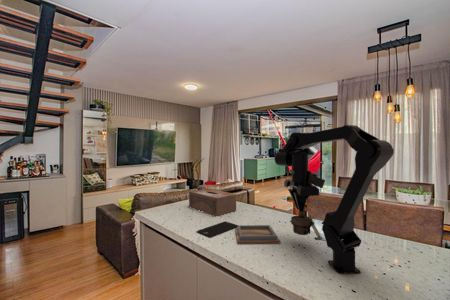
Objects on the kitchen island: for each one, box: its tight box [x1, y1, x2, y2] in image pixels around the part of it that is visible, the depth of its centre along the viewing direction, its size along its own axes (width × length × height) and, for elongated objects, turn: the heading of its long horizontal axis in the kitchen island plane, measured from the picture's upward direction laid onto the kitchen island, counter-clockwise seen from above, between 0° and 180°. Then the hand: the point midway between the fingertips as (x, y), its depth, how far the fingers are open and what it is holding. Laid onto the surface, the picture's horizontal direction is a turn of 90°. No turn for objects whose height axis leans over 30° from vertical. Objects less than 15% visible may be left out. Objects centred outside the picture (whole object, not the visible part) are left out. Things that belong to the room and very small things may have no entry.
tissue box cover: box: [188, 188, 237, 217], centre depth 129 cm, size 26×14×10 cm, turn 43°
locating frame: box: [236, 224, 278, 240], centre depth 89 cm, size 12×14×2 cm
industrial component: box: [289, 205, 315, 236], centre depth 80 cm, size 9×7×12 cm
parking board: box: [234, 228, 282, 245], centre depth 89 cm, size 14×16×1 cm
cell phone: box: [196, 220, 238, 239], centre depth 97 cm, size 9×18×1 cm, turn 136°
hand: (299, 210), depth 79 cm, fingers closed on industrial component, 2 cm apart
